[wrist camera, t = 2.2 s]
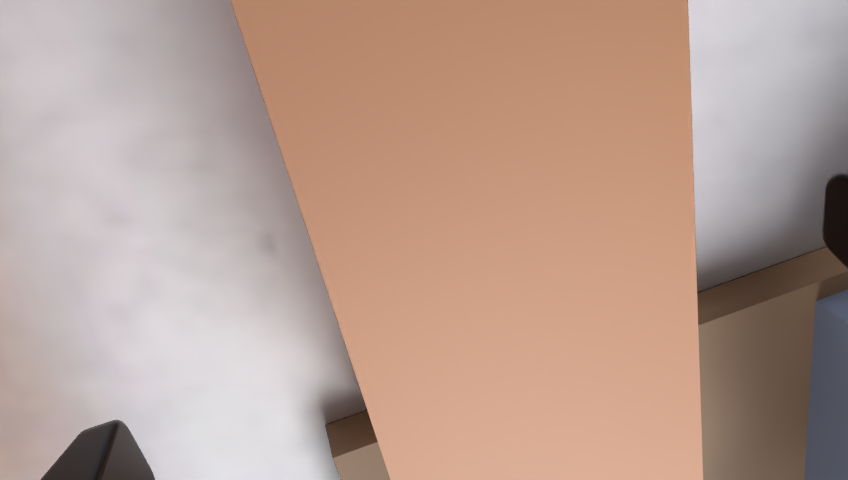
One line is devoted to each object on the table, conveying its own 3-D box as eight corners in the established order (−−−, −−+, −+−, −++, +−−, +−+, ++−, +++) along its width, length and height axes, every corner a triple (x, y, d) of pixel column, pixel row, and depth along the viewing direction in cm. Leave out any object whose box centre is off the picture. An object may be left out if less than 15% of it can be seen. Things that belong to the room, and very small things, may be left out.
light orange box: (363, 387, 15) (447, 649, 10) (214, -66, 11) (224, -22, 6) (539, 325, 16) (705, 543, 10) (464, -130, 11) (683, -144, 6)
